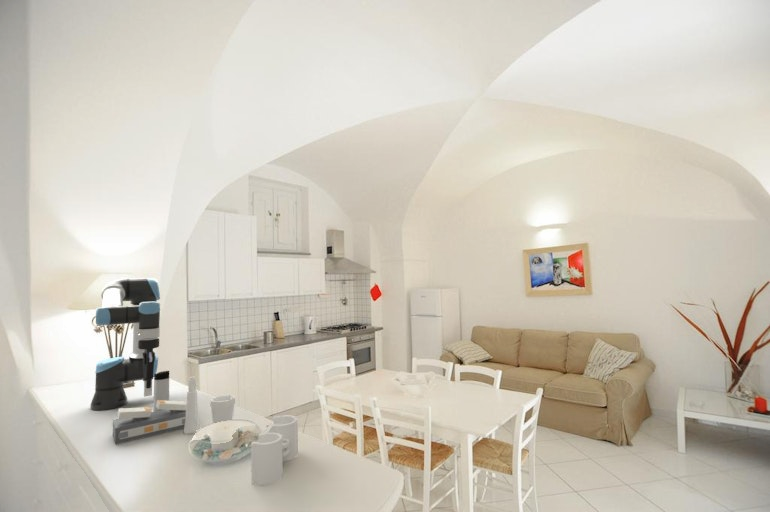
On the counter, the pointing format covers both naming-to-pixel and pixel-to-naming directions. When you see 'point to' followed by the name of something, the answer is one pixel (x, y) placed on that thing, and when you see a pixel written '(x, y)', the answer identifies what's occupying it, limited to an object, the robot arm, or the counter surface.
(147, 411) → the rocker
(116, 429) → the switch unit
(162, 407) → the plate
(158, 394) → the travel mug
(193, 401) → the cosmetic bottle
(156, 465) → the counter surface
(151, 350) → the robot arm
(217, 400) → the foam cup
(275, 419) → the pair of white mugs
